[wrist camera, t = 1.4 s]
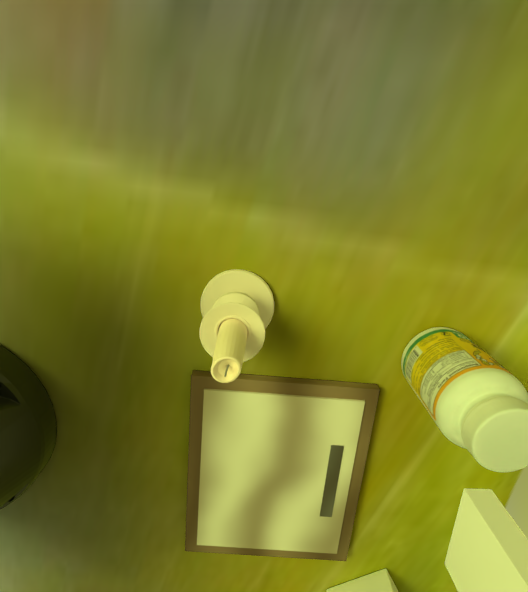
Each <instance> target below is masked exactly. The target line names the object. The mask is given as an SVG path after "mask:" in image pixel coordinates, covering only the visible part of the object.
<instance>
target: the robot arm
mask: <svg viewBox="0 0 528 592" xmlns="http://www.w3.org/2000/svg"><path fill="white" fill-rule="evenodd" d="M56 433H57V427H56V417H55V413H54V409H53V406H52V403H51V401H50V398H49V396H48V394H47V392H46V390H45V389H44V387H43V385H42V384H41V382H40V381H39V379H38V378H37V377H36V376H35V374H34V373H33V372H32V371H31V370H30V369H29V368H28V367H27V366H26V365H25V364H24V363H23V362H22V361H21V360H20V359H19V358H18V357H16V356H15V355H14V354H12V353H11V352H10V351H8V350H7V349H5V348H4V347H2V346H0V509H2V508H4V507H5V506H7V505H9V504H10V503H11V502H13V501H14V500H16V499H17V498H18V497H20V496H21V495H22V494H23V493H24V492H25V491H26V490H27V489H28V488H29V487H30V485H31V484H32V483H33V482H34V480H35V479H36V478H37V476H38V475H39V473H40V472H41V471H42V469H43V468H44V467H45V465H46V464H47V462H48V461H49V459H50V457H51V455H52V452H53V449H54V446H55V442H56ZM445 566H446V568H447V570H448V572H449V574H450V576H451V578H452V580H453V582H454V584H455V586H456V588H457V591H458V592H528V539H527V537H526V536H525V535H524V533H523V532H522V531H521V529H520V528H519V527H518V525H517V524H516V523H515V521H514V520H513V518H512V517H511V516H510V514H509V513H508V512H507V510H506V509H505V508H504V506H503V505H502V503H501V502H500V501H499V499H498V498H497V497H496V495H495V494H494V493H493V491H492V490H491V489H464V490H463V494H462V498H461V502H460V506H459V510H458V513H457V517H456V521H455V525H454V529H453V532H452V536H451V540H450V544H449V548H448V551H447V555H446V559H445Z"/></svg>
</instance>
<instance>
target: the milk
mask: <svg viewBox="0 0 528 592" xmlns="http://www.w3.org/2000/svg"><path fill="white" fill-rule="evenodd" d="M326 592H399V591H398V590H397V588H396V586H395V584H394V582H393V580H392V578H391V576H390V575H389V573H388V571H387V569H382V570H379V571H377V572H374V573H371V574H368V575H365V576H362V577H360V578H357V579H354V580H351V581H348V582H345V583H343V584H340V585H337V586H334V587H331V588H329V589H327V590H326Z"/></svg>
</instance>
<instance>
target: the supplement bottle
mask: <svg viewBox="0 0 528 592" xmlns="http://www.w3.org/2000/svg"><path fill="white" fill-rule="evenodd" d="M401 366H402V371H403V374H404V376H405V378H406V380H407V381H408V383H409V384H410V386H411V387H412V389H413V390H414V392H415V393H416V395H417V396H418V398H419V399H420V401H421V402H422V403H423V405H424V406H425V408H426V409H427V411H428V412H429V414H430V415H431V417H432V418H433V420H434V421H435V423H436V424H437V426H438V427H439V429H440V430H441V432H442V433H443V434H444V436H445V437H446V438H447V439H449V440H450V441H451V442H453V443H454V444H456V445H458V446H460V447H462V448H465V449H467V450H468V451H469V452H470V453H471V454H472V456H473V457H474V458H475V460H476V461H477V462H478V463H479V464H480V465H482V466H483V467H485V468H486V469H489V470H491V471H495V472H512V471H517V470H520V469H523V468H525V467H527V466H528V393H527V391H526V389H525V387H524V386H523V385H522V383H521V382H520V381H519V380H518V379H517V378H516V377H514V376H513V375H512V374H511V373H510V372H509V371H507V370H506V369H505V368H504V367H503V366H501V365H500V364H499V363H498V362H497V361H495V360H494V359H493V358H492V357H491V356H489V355H488V354H487V353H486V352H485V351H483V350H482V349H481V348H480V347H479V346H477V345H476V344H475V343H474V342H473V341H471V340H470V339H469V338H468V337H466V336H465V335H464V334H462V333H461V332H458V331H456V330H453V329H450V328H446V327H435V328H431V329H428V330H425V331H423V332H421V333H420V334H418V335H416V336H415V337H414V338H413V339H412V340H411V341H410V342H409V343H408V345H407V346H406V348H405V350H404V352H403V355H402V360H401Z"/></svg>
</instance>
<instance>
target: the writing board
mask: <svg viewBox="0 0 528 592" xmlns="http://www.w3.org/2000/svg"><path fill="white" fill-rule="evenodd" d="M379 392H380V389H379V387H378V385H377V384H369V383H355V382H342V381H329V380H316V379H303V378H289V377H276V376H263V375H250V374H239V376H238V377H237V378H236V379H235V380H234V381H232V382H229V383H221V382H218V381H216V380H215V379H214V378H213V377H212V374H211V372H210V371H197V370H193V372H192V375H191V397H190V426H189V454H188V483H187V511H186V540H185V551H193V552H209V553H225V554H241V555H257V556H273V557H288V558H304V559H320V560H336V561H346V559H347V554H348V549H349V544H350V539H351V534H352V529H353V524H354V519H355V514H356V509H357V504H358V499H359V493H360V488H361V483H362V478H363V473H364V468H365V463H366V458H367V453H368V448H369V443H370V438H371V433H372V427H373V422H374V417H375V412H376V407H377V402H378V397H379Z"/></svg>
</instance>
